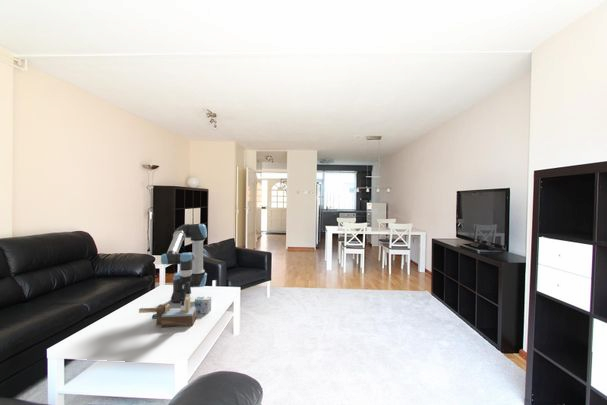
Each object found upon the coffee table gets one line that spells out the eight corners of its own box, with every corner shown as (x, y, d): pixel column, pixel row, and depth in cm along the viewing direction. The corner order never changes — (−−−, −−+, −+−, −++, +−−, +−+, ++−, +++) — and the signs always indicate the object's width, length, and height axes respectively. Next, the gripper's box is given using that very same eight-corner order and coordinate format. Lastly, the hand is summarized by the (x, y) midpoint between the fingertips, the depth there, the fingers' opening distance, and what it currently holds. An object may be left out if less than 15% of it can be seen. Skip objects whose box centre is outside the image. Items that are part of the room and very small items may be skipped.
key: (140, 311, 198) (140, 308, 198) (161, 310, 200) (161, 307, 200) (138, 312, 196) (138, 309, 196) (160, 312, 198) (160, 308, 198)
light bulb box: (194, 313, 218) (194, 299, 218) (197, 309, 225) (197, 296, 225) (208, 313, 218) (208, 299, 218) (211, 310, 224) (211, 296, 224)
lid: (167, 310, 205) (167, 296, 205) (196, 309, 208) (196, 295, 208) (161, 317, 194) (161, 301, 193) (191, 315, 196) (192, 300, 196)
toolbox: (161, 320, 205) (161, 302, 205) (196, 318, 208) (196, 301, 208) (154, 327, 193) (154, 309, 193) (192, 326, 196) (192, 308, 196)
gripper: (184, 271, 212) (184, 300, 213) (174, 280, 188) (174, 313, 189) (195, 271, 213) (195, 300, 214) (186, 280, 189) (186, 313, 190)
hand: (185, 306), depth 201 cm, fingers open, 12 cm apart
